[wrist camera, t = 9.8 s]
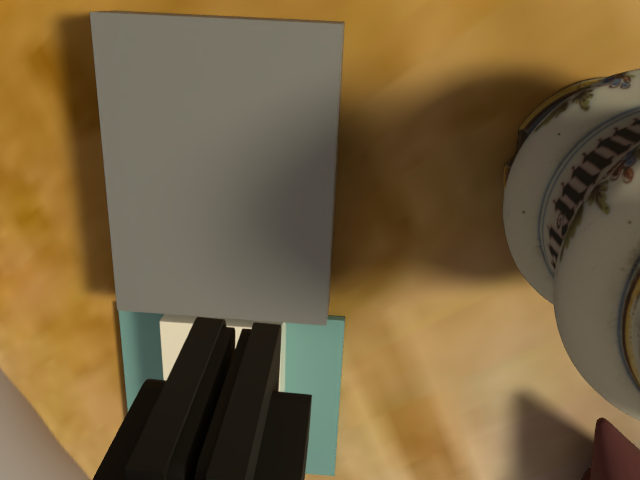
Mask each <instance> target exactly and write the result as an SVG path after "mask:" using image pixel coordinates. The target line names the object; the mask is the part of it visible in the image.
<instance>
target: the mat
mask: <svg viewBox="0 0 640 480" xmlns="http://www.w3.org/2000/svg"><path fill="white" fill-rule="evenodd" d="M163 315H164V314H159V313H145V312H131V311H119V320H120V331H121V342H122V353H123V364H124V375H125V386H126V397H127V408H128V411H129V409H130V407H131V405H132V403H133V401H134V400H135V398H136V396H137V394H138V392H139V390H140V388H141V386H142V385H143V383H144V382H145V380H147V379H157V380H164V377H163V363H162V349H161V335H160V320H161V318H162V317H163ZM344 324H345V317H342V316H328V318H327V326H324V325H310V324H296V323H286V354H285V392H289V393H299V394H310V395H312V404H311V417H310V429H309V440H308V451H307V461H306V470H305V473H306V474H318V475H329V476H335V461H336V445H337V430H338V415H339V400H340V385H341V369H342V354H343V339H344Z"/></svg>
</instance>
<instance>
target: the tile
mask: <svg viewBox="0 0 640 480" xmlns="http://www.w3.org/2000/svg"><path fill="white" fill-rule="evenodd" d="M197 317H200V316H186V315H173V314H164V315H163V317H162V318H161V320H160V335H161V349H162V363H163V377H164V380H167V378H168V376H169V374H170V372H171V370H172V368H173V366H174V363H175V361H176V359H177V357H178V355H179V353H180V351H181V349H182V346H183V344H184V342H185V340H186V338H187V336H188V334H189V332H190V329H191V327H192V325H193V323H194V321H195V319H196V318H197ZM206 318H214V317H206ZM216 319H225V321H226V327H234V328H235V348H236V345H237V342H238V339H239V336H240V333H241V331H242V329H243V328H245V329H252V325H253V323H254V322H259V323H269V324H280V325H281V327H282V332H281V353H280V374H279V392H285V354H286V323H283V322H269V321H255V320H241V319H228V318H216Z"/></svg>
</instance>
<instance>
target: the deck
mask: <svg viewBox="0 0 640 480" xmlns="http://www.w3.org/2000/svg"><path fill="white" fill-rule="evenodd" d="M90 20H91V31H92V42H93V53H94V64H95V74H96V85H97V96H98V107H99V118H100V129H101V140H102V150H103V161H104V172H105V183H106V194H107V205H108V216H109V226H110V237H111V248H112V259H113V270H114V281H115V292H116V302H117V310H118V311H131V312H145V313H159V314H173V315H186V316H200V317H214V318H228V319H241V320H255V321H269V322H283V323H296V324H310V325H324V326H327V318H328V309H329V301H330V282H331V264H332V246H333V227H334V209H335V191H336V172H337V154H338V135H339V117H340V99H341V80H342V62H343V43H344V25H345V22H338V21H318V20H297V19H276V18H255V17H234V16H213V15H192V14H172V13H151V12H130V11H99V12H90Z"/></svg>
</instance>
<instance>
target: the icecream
mask: <svg viewBox="0 0 640 480" xmlns="http://www.w3.org/2000/svg"><path fill="white" fill-rule="evenodd" d="M582 480H640V450H639V449H638V448H637V447H636V446H635V445H634V444H632V443H631V442H630V441H629V440H628V439H627V438H626V437H625V436H624V435H623V434H622V433H621V432H619V431H618V430H617V429H616V428H615V427H614V426H613V425H612V424H611V423H610V422H609V421H607V420H606V419H604V418H599V419H598V420H597V422H596V428H595V436H594V447H593V456H592V465H591V468H589V469H588V470H587V471H586V472H585V473H584V475H583V477H582Z"/></svg>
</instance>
